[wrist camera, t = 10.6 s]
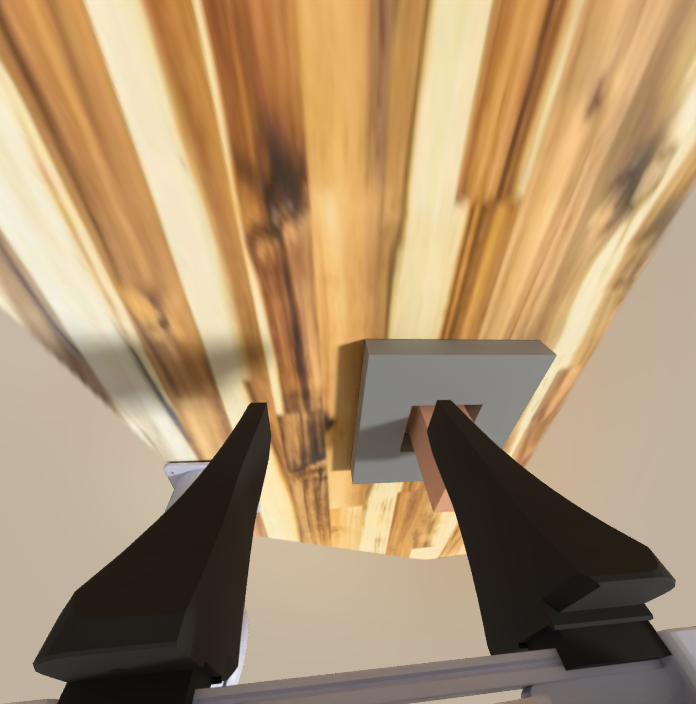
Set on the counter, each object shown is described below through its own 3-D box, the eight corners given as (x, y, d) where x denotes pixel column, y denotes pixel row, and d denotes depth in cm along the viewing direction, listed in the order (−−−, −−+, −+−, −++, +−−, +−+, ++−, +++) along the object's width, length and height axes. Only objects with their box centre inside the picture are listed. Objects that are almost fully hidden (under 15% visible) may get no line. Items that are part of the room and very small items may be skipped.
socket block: (475, 461, 32) (484, 478, 30) (350, 466, 30) (352, 484, 29) (539, 340, 23) (556, 354, 21) (365, 339, 21) (369, 354, 20)
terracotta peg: (446, 425, 28) (485, 509, 21) (406, 426, 28) (433, 512, 21) (458, 395, 26) (505, 479, 19) (415, 395, 25) (449, 481, 19)
